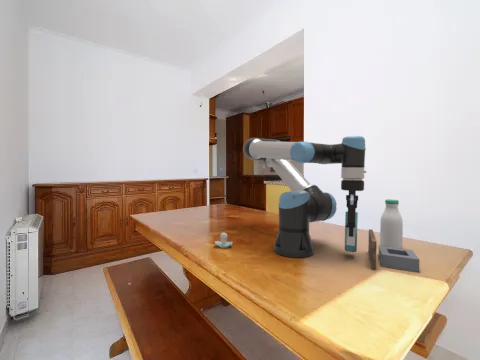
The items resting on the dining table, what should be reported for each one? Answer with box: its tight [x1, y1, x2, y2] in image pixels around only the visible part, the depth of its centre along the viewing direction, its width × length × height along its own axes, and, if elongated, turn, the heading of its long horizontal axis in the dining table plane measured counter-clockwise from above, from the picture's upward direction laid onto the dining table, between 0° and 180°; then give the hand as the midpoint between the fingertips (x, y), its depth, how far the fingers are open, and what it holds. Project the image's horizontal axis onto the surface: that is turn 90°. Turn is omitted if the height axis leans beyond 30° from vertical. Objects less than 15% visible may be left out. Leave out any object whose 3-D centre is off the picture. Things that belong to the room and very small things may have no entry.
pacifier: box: [214, 232, 234, 249], centre depth 97 cm, size 7×6×6 cm
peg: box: [344, 211, 359, 253], centre depth 85 cm, size 4×4×14 cm
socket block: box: [378, 245, 420, 273], centre depth 78 cm, size 10×10×4 cm
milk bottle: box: [379, 198, 404, 249], centre depth 95 cm, size 8×8×20 cm
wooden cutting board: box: [367, 229, 378, 271], centre depth 82 cm, size 1×18×9 cm, turn 154°
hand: (350, 243), depth 85 cm, fingers closed on peg, 4 cm apart
